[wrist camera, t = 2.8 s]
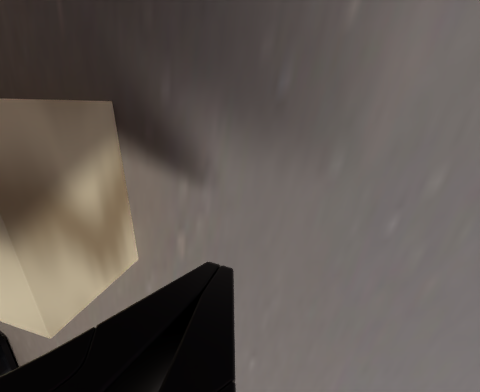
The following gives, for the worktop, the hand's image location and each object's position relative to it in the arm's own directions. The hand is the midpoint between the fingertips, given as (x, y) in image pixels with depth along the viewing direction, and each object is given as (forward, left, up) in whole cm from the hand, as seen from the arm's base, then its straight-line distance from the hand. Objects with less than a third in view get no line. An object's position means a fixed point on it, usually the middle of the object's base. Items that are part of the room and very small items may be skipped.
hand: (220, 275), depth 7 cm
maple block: (0, +10, -3) cm, 11 cm away
